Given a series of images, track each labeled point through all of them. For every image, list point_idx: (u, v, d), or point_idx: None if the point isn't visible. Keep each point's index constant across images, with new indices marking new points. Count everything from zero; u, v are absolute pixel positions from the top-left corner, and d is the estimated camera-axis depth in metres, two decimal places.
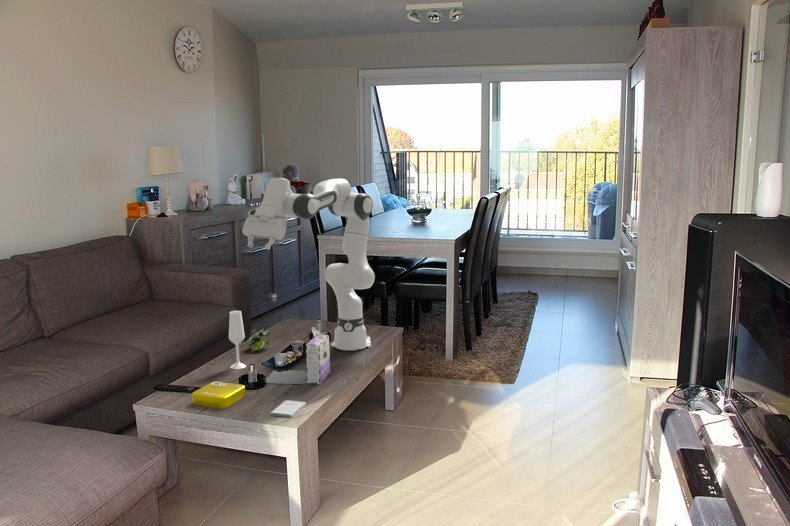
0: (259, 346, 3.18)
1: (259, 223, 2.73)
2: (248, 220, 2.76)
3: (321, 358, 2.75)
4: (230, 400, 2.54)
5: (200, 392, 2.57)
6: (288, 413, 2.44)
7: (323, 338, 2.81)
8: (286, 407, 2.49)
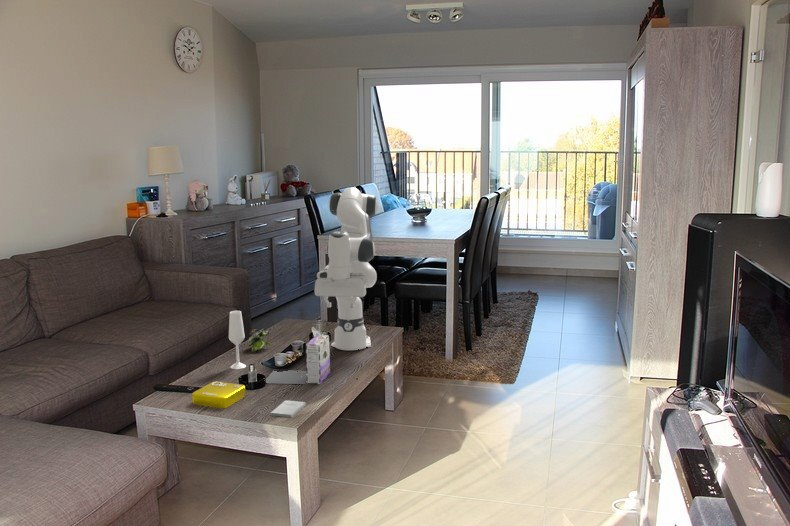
0: (259, 346, 3.18)
1: (334, 284, 2.73)
2: (319, 282, 2.73)
3: (321, 358, 2.75)
4: (230, 400, 2.54)
5: (200, 392, 2.57)
6: (288, 413, 2.44)
7: (323, 338, 2.81)
8: (286, 407, 2.49)
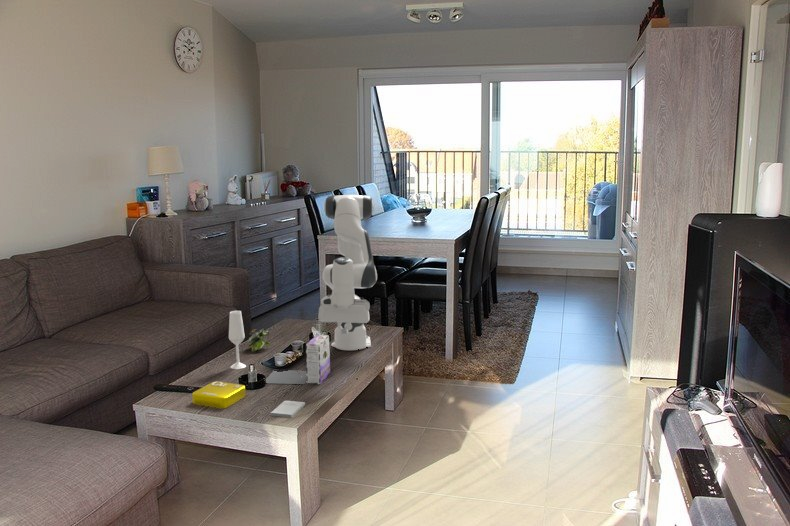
0: (259, 346, 3.18)
1: (337, 310, 2.75)
2: (323, 308, 2.75)
3: (321, 358, 2.75)
4: (230, 400, 2.54)
5: (200, 392, 2.57)
6: (288, 413, 2.44)
7: (323, 338, 2.81)
8: (286, 407, 2.49)
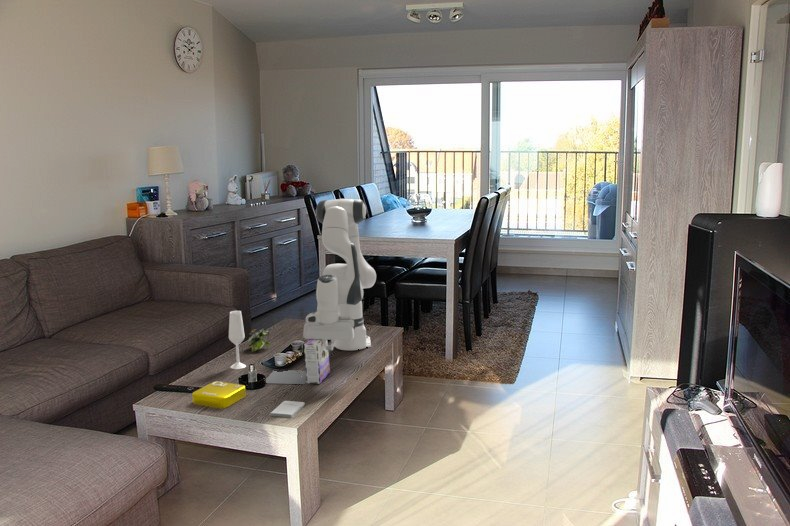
0: (259, 346, 3.18)
1: (322, 327, 2.77)
2: (307, 326, 2.77)
3: (319, 357, 2.75)
4: (229, 400, 2.54)
5: (200, 392, 2.57)
6: (288, 413, 2.44)
7: None
8: (286, 407, 2.49)
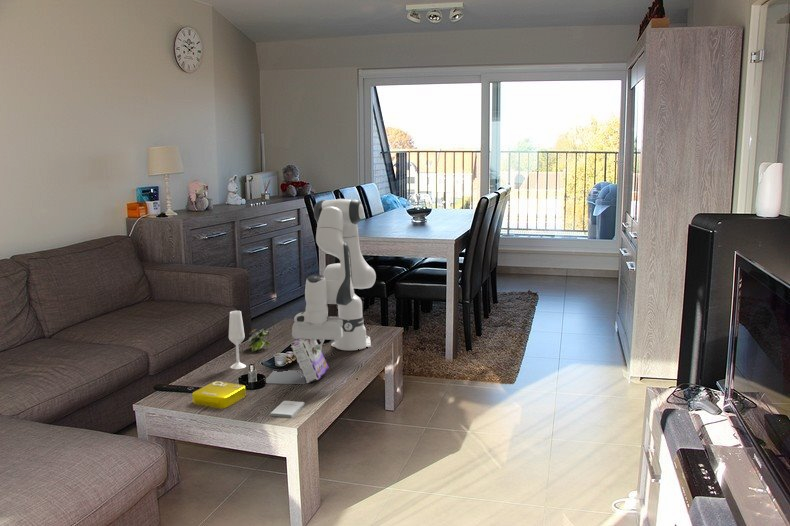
0: (259, 346, 3.18)
1: (311, 327, 2.77)
2: (296, 326, 2.77)
3: (310, 354, 2.76)
4: (229, 401, 2.54)
5: (200, 392, 2.57)
6: (288, 413, 2.44)
7: None
8: (286, 407, 2.49)
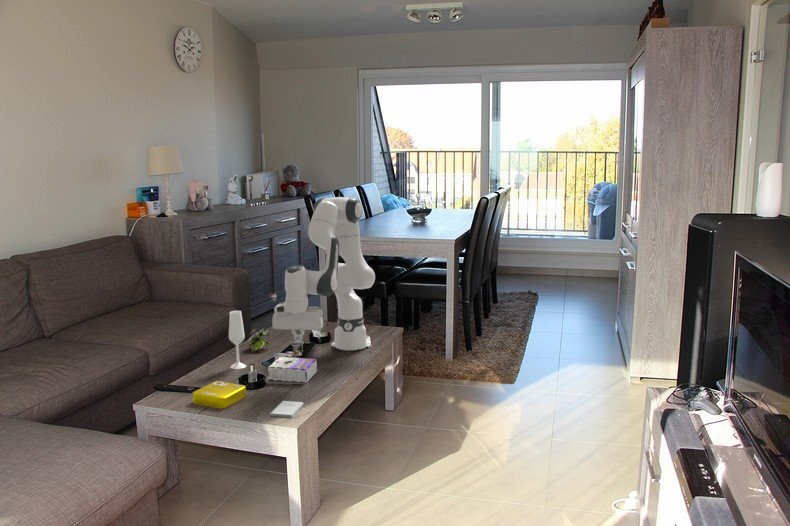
0: (259, 346, 3.18)
1: (291, 317, 2.78)
2: (276, 316, 2.78)
3: (284, 366, 2.79)
4: (229, 401, 2.54)
5: (200, 392, 2.57)
6: (288, 413, 2.44)
7: None
8: (285, 408, 2.49)
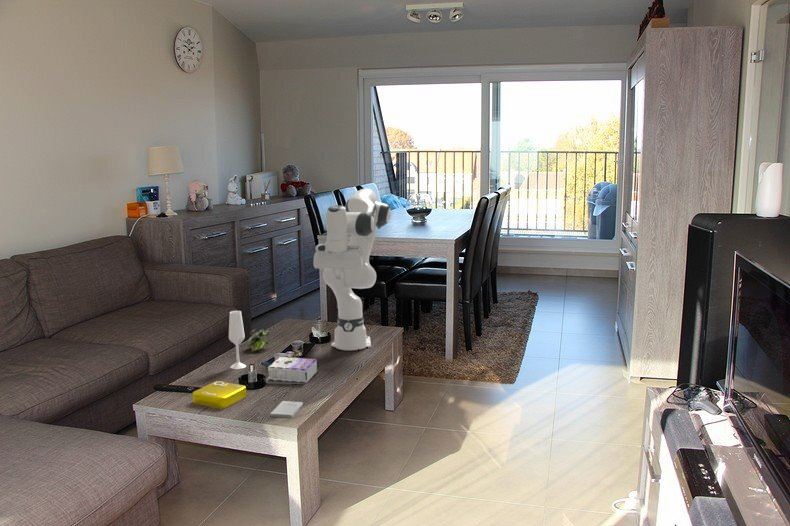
0: (259, 346, 3.18)
1: (332, 256, 2.84)
2: (317, 255, 2.84)
3: (284, 366, 2.79)
4: (229, 401, 2.54)
5: (200, 392, 2.57)
6: (288, 413, 2.44)
7: None
8: (285, 408, 2.49)
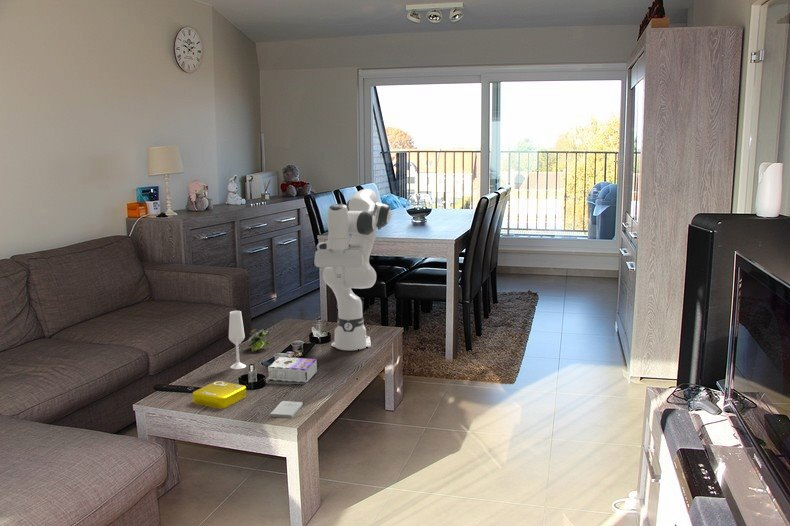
0: (259, 346, 3.18)
1: (333, 255, 2.84)
2: (319, 253, 2.84)
3: (284, 366, 2.79)
4: (229, 401, 2.54)
5: (200, 392, 2.57)
6: (288, 413, 2.44)
7: None
8: (285, 408, 2.48)
